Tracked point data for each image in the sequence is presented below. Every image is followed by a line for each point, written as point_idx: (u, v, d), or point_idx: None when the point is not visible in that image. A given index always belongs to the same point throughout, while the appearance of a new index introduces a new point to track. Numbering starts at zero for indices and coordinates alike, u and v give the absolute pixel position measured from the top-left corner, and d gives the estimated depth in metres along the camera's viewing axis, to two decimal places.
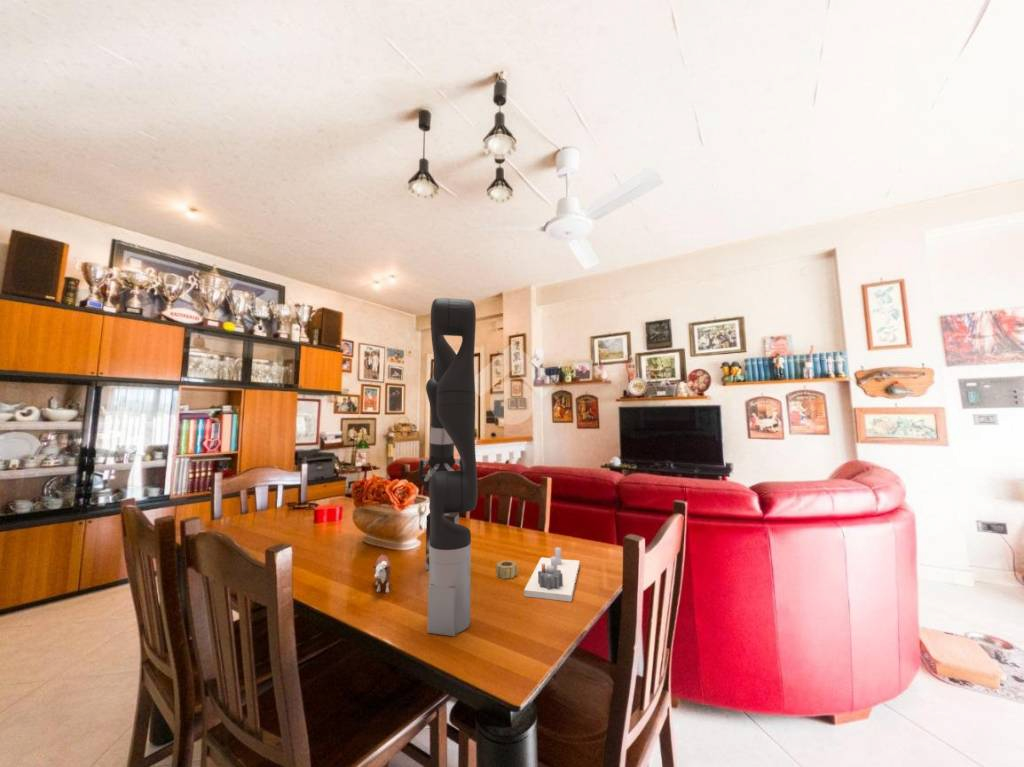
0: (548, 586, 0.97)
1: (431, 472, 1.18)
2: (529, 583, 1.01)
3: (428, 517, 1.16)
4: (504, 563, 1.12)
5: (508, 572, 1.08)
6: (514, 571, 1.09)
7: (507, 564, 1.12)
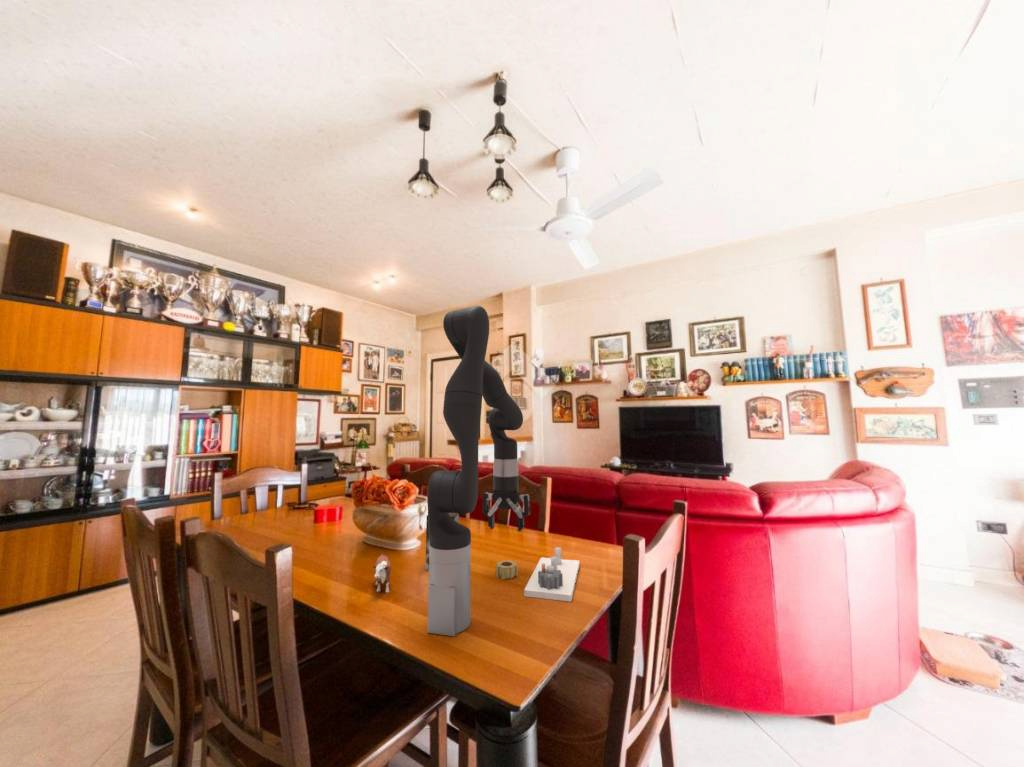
0: (548, 586, 0.97)
1: (494, 507, 1.12)
2: (529, 583, 1.01)
3: None
4: (504, 563, 1.12)
5: (508, 572, 1.08)
6: (514, 571, 1.09)
7: (507, 564, 1.12)
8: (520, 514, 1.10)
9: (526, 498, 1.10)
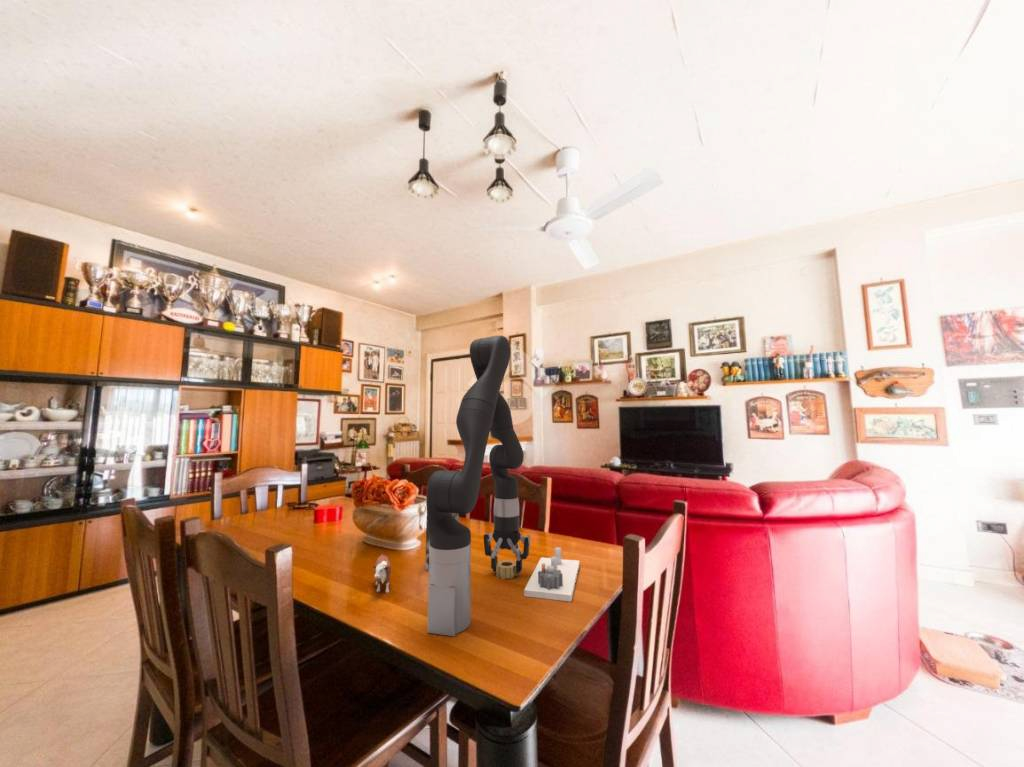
0: (548, 586, 0.97)
1: (495, 548, 1.10)
2: (529, 583, 1.01)
3: None
4: (504, 563, 1.12)
5: (508, 572, 1.08)
6: (514, 571, 1.09)
7: (507, 564, 1.12)
8: (518, 556, 1.09)
9: (527, 541, 1.09)
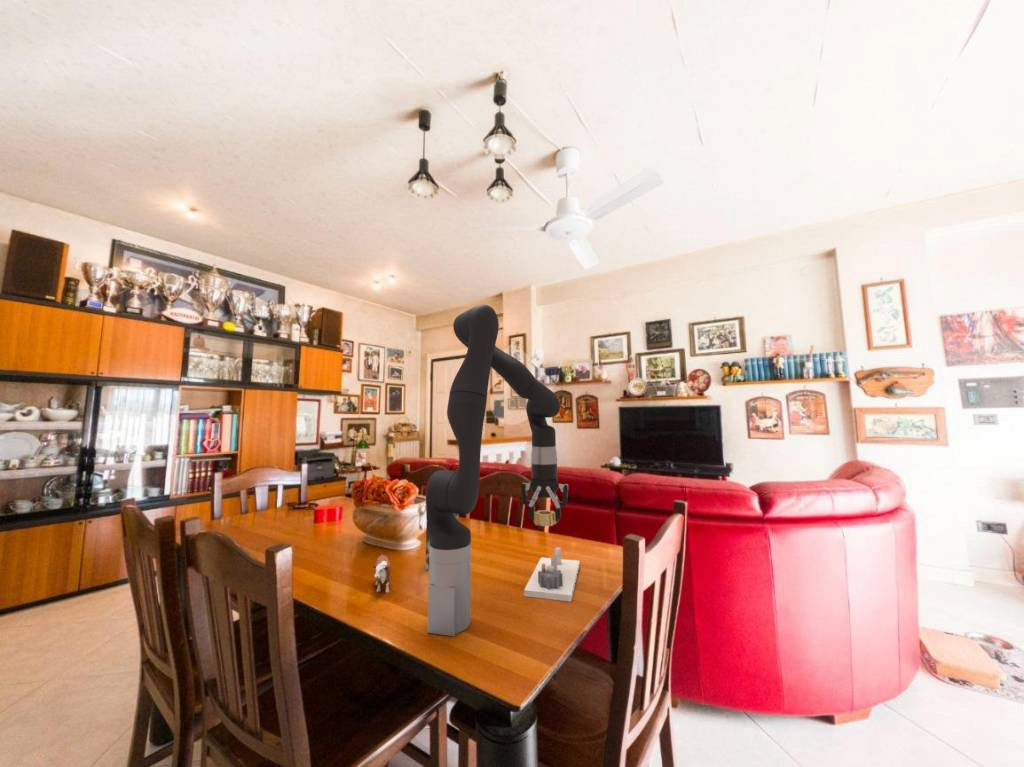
0: (548, 586, 0.97)
1: (534, 496, 1.09)
2: (529, 583, 1.01)
3: None
4: (542, 512, 1.11)
5: (547, 519, 1.07)
6: (553, 519, 1.08)
7: (545, 513, 1.11)
8: (558, 504, 1.08)
9: (566, 488, 1.08)
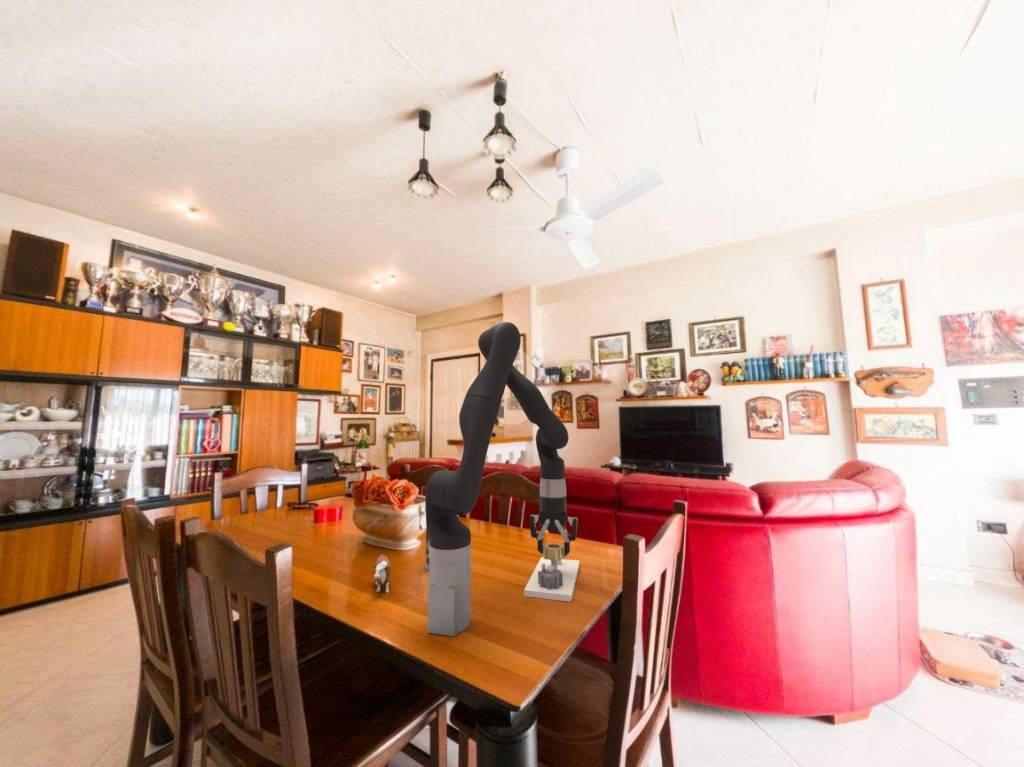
0: (548, 586, 0.97)
1: (542, 529, 1.07)
2: (529, 583, 1.01)
3: None
4: (550, 545, 1.09)
5: (556, 554, 1.05)
6: (562, 553, 1.06)
7: (553, 546, 1.09)
8: (567, 538, 1.06)
9: (575, 522, 1.06)
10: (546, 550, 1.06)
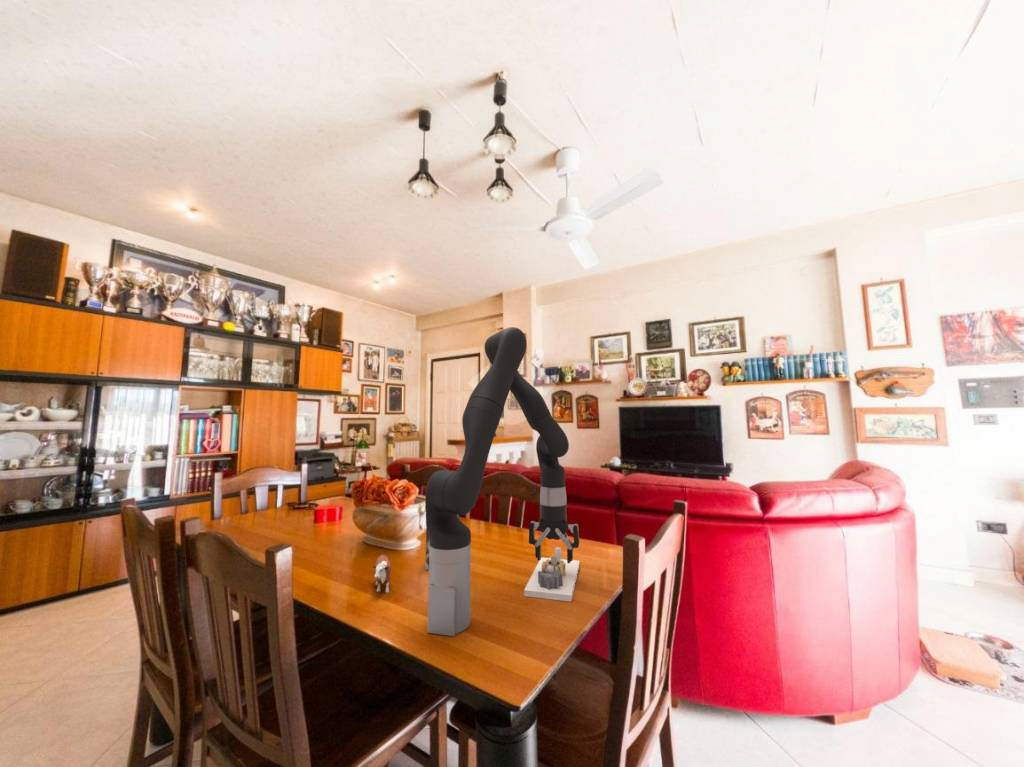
0: (548, 586, 0.97)
1: (541, 537, 1.07)
2: (529, 583, 1.01)
3: None
4: None
5: None
6: (562, 570, 1.06)
7: None
8: (569, 545, 1.05)
9: (576, 529, 1.05)
10: (546, 567, 1.06)
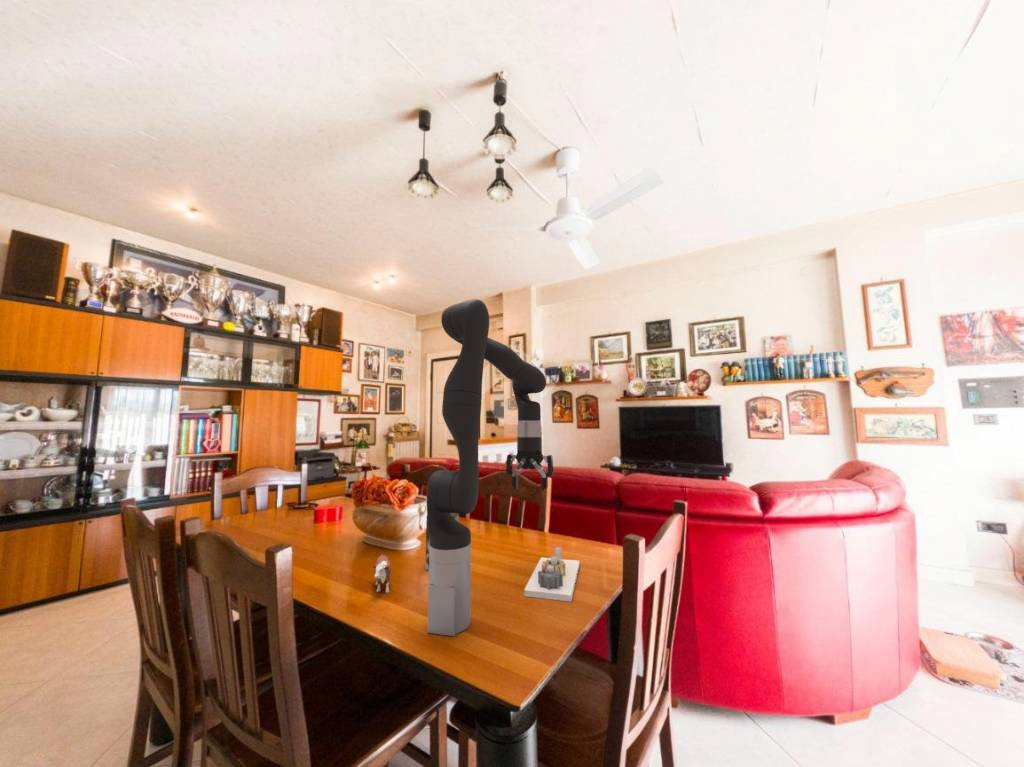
0: (548, 586, 0.97)
1: (518, 467, 1.14)
2: (529, 583, 1.01)
3: None
4: None
5: None
6: (562, 570, 1.06)
7: None
8: (544, 474, 1.13)
9: (549, 458, 1.12)
10: (546, 567, 1.06)
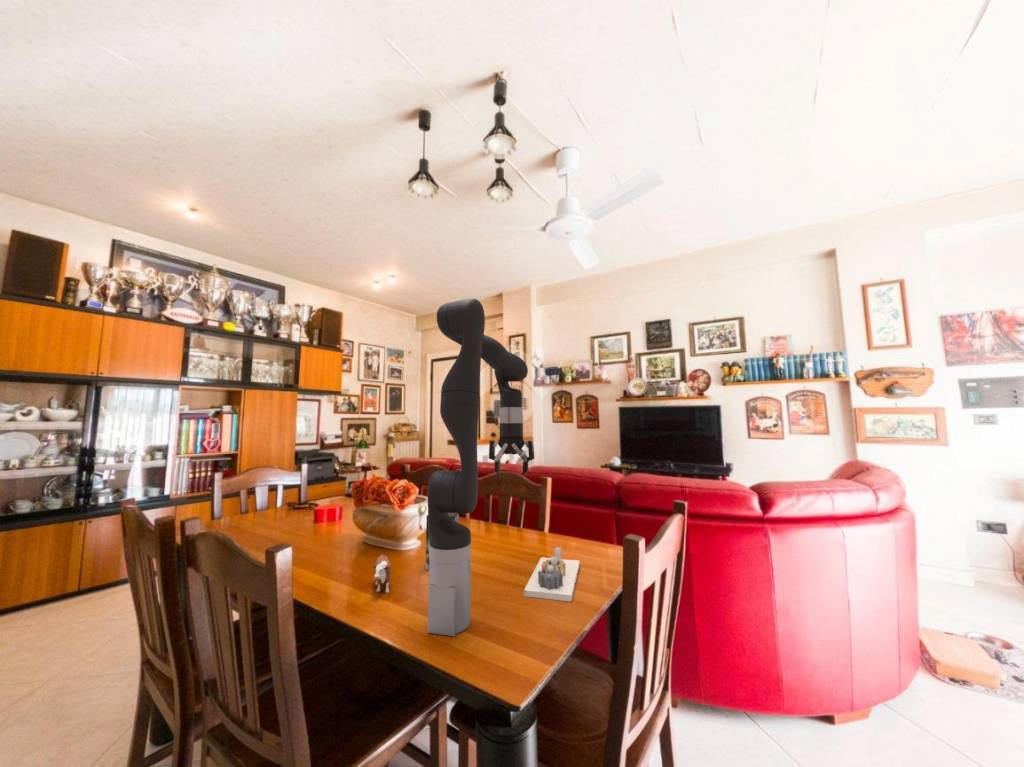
0: (548, 586, 0.97)
1: (500, 452, 1.19)
2: (529, 583, 1.01)
3: None
4: None
5: None
6: (562, 570, 1.06)
7: None
8: (525, 458, 1.17)
9: (530, 443, 1.17)
10: (546, 567, 1.06)
